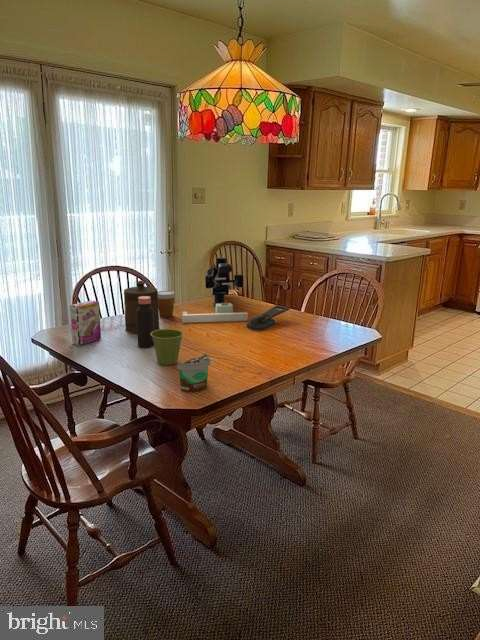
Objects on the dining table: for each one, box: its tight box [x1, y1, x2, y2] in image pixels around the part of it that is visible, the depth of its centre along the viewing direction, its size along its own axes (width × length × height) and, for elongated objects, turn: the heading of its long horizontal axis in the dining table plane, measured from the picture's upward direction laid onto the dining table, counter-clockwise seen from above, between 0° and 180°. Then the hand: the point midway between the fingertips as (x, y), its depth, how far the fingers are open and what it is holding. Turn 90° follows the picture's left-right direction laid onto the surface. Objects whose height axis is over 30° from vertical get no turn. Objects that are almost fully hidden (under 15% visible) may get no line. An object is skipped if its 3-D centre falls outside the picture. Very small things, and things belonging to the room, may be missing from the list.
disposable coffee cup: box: [158, 290, 176, 319], centre depth 236 cm, size 10×10×12 cm
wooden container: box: [123, 280, 160, 335], centre depth 213 cm, size 15×15×22 cm
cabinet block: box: [215, 302, 234, 313], centre depth 242 cm, size 6×8×6 cm
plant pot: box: [150, 328, 185, 366], centre depth 176 cm, size 12×12×11 cm
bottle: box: [136, 296, 155, 349], centre depth 192 cm, size 7×7×20 cm
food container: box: [176, 352, 212, 393], centre depth 154 cm, size 12×6×10 cm, turn 138°
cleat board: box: [182, 311, 249, 324], centre depth 234 cm, size 9×31×4 cm, turn 100°
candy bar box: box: [69, 299, 102, 346], centre depth 196 cm, size 11×5×16 cm, turn 145°
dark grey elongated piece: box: [246, 304, 290, 332], centre depth 226 cm, size 9×7×25 cm
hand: (226, 284), depth 232 cm, fingers open, 9 cm apart
